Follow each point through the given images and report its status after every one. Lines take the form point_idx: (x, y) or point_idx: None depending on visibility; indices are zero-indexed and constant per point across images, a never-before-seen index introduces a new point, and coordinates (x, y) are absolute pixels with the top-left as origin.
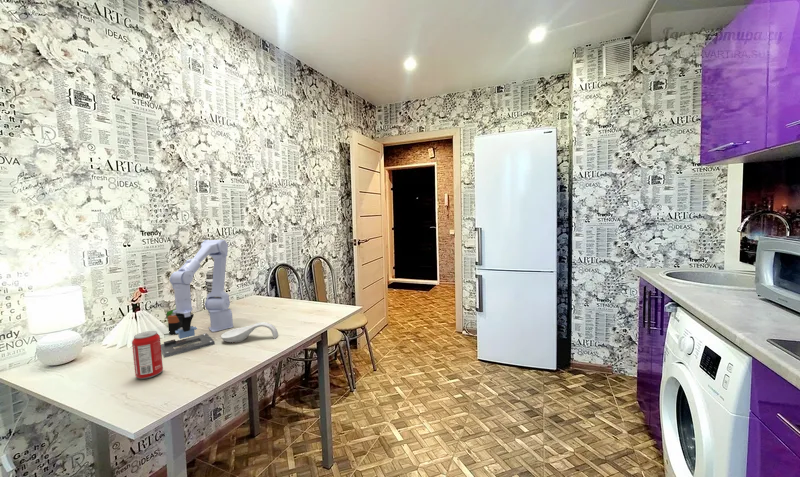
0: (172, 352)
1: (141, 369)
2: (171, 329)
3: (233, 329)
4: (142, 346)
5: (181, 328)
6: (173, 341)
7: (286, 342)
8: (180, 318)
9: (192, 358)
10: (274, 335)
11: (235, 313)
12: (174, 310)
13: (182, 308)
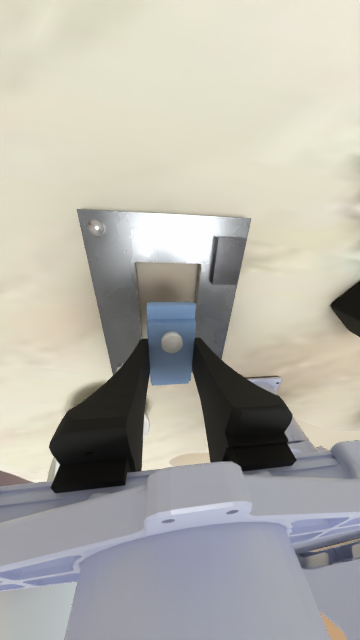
0: (85, 248)
1: None
2: None
3: (146, 428)
4: None
5: (161, 341)
6: (213, 276)
7: (15, 462)
8: (61, 426)
9: (2, 299)
10: (51, 463)
11: (325, 427)
12: (232, 515)
13: None
